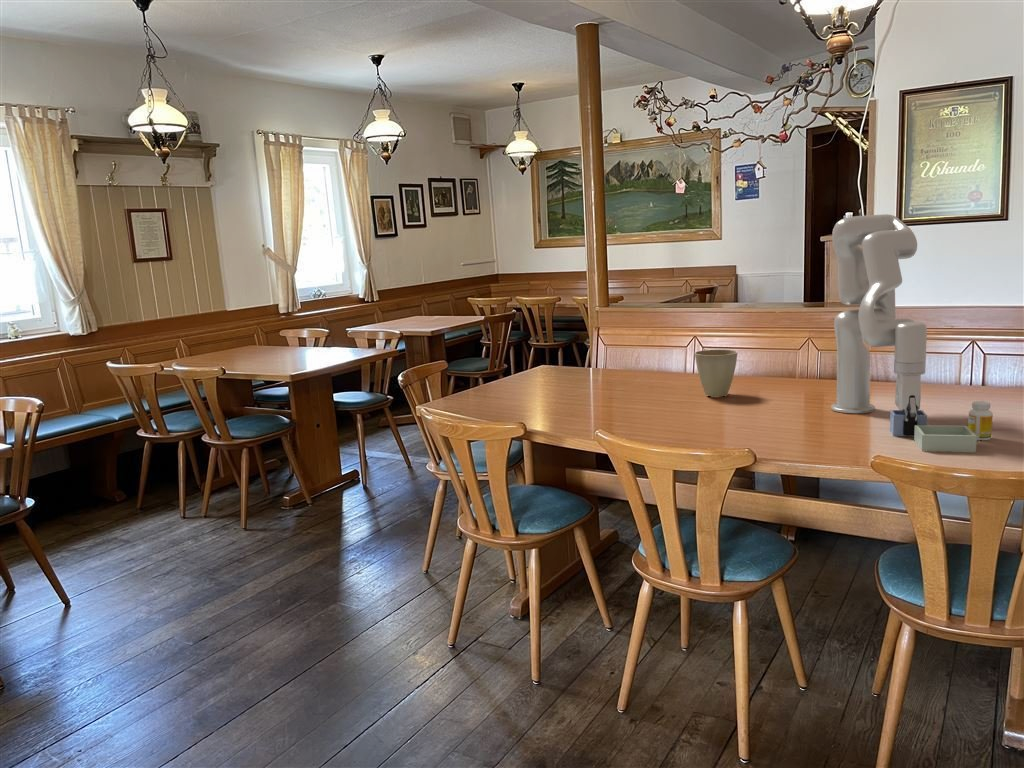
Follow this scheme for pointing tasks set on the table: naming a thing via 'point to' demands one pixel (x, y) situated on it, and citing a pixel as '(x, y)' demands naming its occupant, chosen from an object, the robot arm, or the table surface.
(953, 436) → the large crate
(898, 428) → the small crate
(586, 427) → the table surface
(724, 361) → the plant pot
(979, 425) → the supplement bottle
